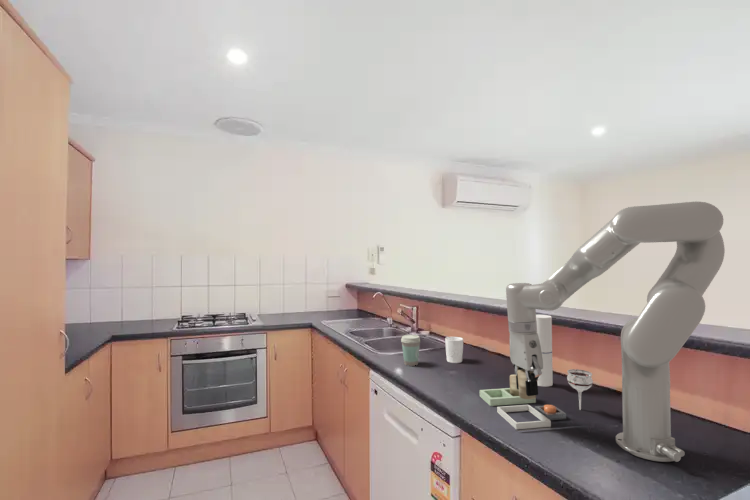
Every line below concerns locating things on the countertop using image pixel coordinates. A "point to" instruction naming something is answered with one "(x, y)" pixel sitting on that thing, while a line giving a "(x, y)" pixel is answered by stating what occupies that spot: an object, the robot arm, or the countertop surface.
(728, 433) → the countertop surface
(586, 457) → the countertop surface
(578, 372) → the wineglass
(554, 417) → the button housing
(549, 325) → the cylindrical container
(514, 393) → the cylinder
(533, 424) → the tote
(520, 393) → the cylinder
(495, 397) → the pale green flat tray
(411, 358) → the coffee cup
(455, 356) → the white cup
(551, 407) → the button
